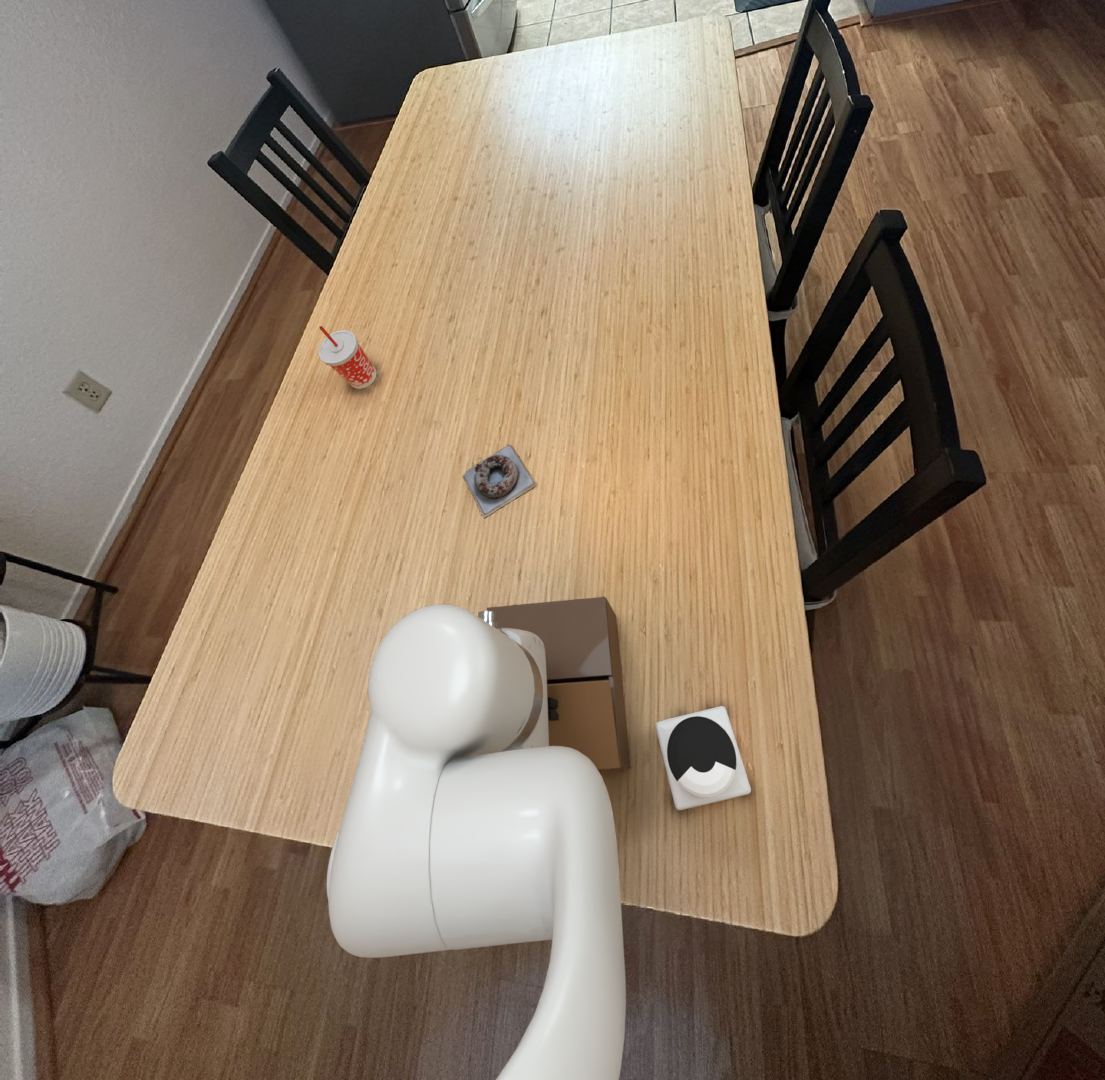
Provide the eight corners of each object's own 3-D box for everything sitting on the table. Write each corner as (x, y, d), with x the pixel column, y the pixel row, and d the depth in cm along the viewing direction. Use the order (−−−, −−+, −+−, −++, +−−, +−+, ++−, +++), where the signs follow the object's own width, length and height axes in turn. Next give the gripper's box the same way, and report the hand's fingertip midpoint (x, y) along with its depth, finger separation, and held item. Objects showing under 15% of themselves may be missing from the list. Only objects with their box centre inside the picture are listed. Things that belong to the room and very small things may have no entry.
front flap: (620, 766, 57) (619, 768, 57) (485, 773, 59) (484, 775, 59) (609, 679, 59) (609, 680, 58) (478, 689, 61) (477, 690, 60)
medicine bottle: (658, 725, 67) (650, 718, 57) (722, 710, 66) (726, 700, 57) (678, 807, 63) (674, 814, 53) (747, 791, 62) (756, 795, 53)
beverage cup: (366, 397, 99) (323, 349, 88) (338, 386, 101) (292, 338, 90) (388, 367, 101) (348, 316, 90) (359, 356, 104) (318, 306, 93)
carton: (630, 768, 65) (620, 768, 57) (510, 774, 67) (483, 775, 59) (616, 615, 74) (605, 595, 65) (510, 624, 75) (486, 606, 67)
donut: (511, 442, 89) (508, 436, 88) (536, 485, 85) (533, 480, 83) (461, 473, 88) (456, 468, 86) (484, 518, 84) (479, 513, 82)
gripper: (442, 586, 48) (503, 628, 63) (428, 832, 39) (503, 813, 54) (537, 576, 47) (576, 622, 62) (544, 827, 38) (588, 809, 53)
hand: (542, 711), depth 58 cm, fingers closed
